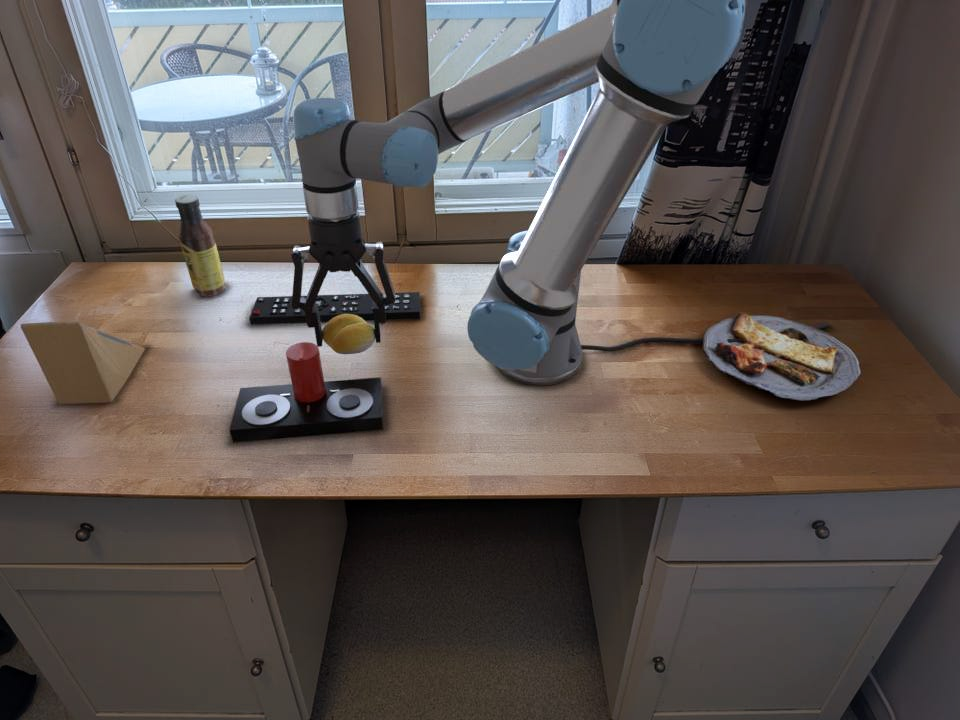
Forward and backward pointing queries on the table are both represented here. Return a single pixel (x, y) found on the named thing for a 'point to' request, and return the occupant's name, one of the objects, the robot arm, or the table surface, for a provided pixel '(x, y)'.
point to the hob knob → (306, 372)
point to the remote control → (333, 308)
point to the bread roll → (348, 334)
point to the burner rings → (278, 407)
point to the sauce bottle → (199, 248)
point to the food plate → (781, 356)
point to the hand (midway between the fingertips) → (349, 339)
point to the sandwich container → (81, 360)
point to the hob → (308, 413)
